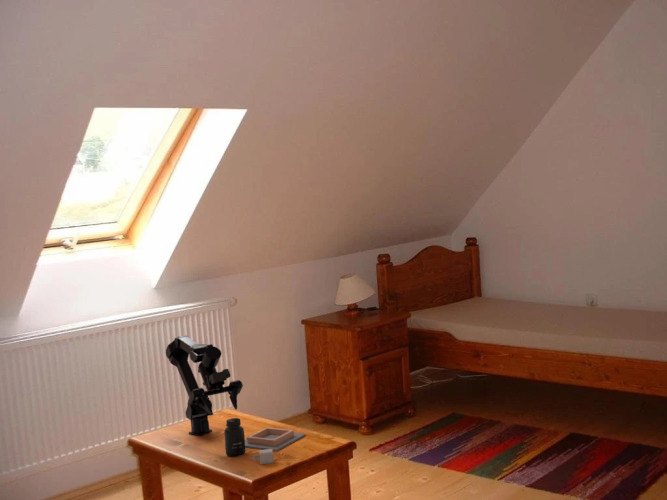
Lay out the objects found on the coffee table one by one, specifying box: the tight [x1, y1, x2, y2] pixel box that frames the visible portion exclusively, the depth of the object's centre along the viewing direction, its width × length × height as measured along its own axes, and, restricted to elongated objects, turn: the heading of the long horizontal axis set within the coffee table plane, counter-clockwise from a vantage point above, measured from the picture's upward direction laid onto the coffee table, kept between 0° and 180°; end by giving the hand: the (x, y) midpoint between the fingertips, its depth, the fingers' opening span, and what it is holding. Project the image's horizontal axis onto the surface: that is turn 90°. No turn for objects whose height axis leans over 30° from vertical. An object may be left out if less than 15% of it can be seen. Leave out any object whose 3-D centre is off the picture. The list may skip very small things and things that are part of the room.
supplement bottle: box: [223, 417, 246, 458], centre depth 273 cm, size 7×7×12 cm
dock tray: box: [245, 427, 306, 452], centre depth 285 cm, size 18×18×3 cm
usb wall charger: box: [251, 449, 275, 466], centre depth 262 cm, size 4×7×4 cm, turn 95°
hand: (224, 411), depth 280 cm, fingers open, 9 cm apart
